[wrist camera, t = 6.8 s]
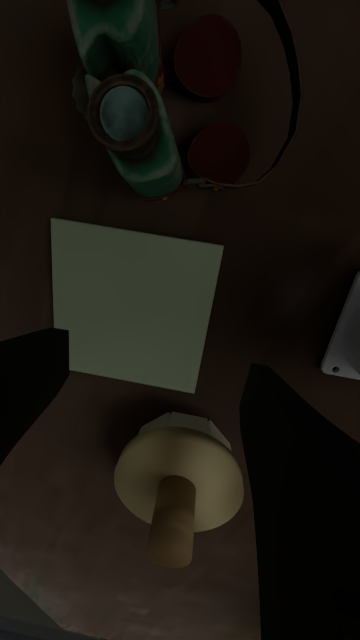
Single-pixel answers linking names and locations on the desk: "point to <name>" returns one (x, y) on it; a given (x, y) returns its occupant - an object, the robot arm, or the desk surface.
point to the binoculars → (147, 86)
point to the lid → (178, 488)
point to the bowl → (186, 425)
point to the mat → (133, 302)
